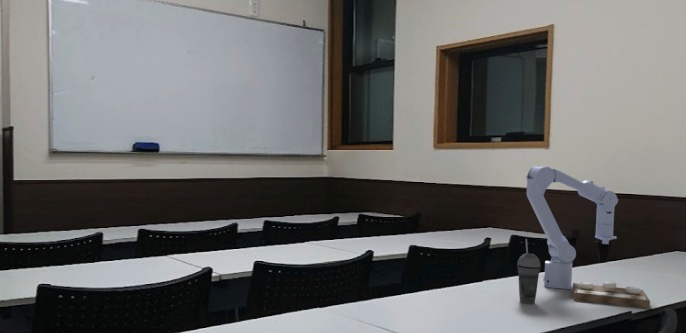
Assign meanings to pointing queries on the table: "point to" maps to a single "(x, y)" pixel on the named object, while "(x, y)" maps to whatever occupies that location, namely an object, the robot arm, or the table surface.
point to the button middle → (609, 285)
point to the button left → (586, 285)
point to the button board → (610, 296)
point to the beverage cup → (528, 276)
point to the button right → (632, 290)
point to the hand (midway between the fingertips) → (603, 261)
